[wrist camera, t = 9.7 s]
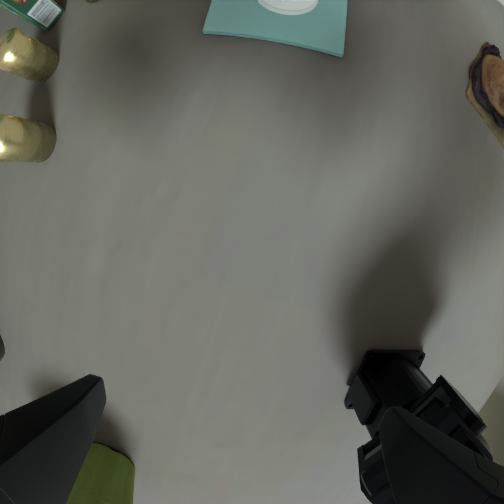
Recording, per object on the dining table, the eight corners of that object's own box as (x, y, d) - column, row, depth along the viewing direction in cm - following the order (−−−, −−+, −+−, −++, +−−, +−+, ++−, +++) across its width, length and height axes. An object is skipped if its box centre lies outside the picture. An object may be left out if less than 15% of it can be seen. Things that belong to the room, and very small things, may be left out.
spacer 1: (63, 48, 15) (24, 23, 9) (52, 80, 16) (8, 62, 10) (38, 53, 15) (-1, 34, 9) (28, 85, 16) (-15, 70, 10)
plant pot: (120, 487, 27) (102, 544, 16) (55, 437, 25) (22, 494, 14) (174, 476, 26) (160, 549, 15) (97, 418, 23) (59, 495, 12)
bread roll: (502, 156, 19) (528, 156, 15) (455, 91, 17) (481, 83, 14) (522, 94, 17) (543, 91, 13) (480, 37, 15) (500, 28, 12)
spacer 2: (59, 122, 17) (10, 110, 11) (52, 162, 18) (2, 161, 12) (32, 124, 17) (-15, 116, 11) (26, 162, 17) (-23, 161, 12)
